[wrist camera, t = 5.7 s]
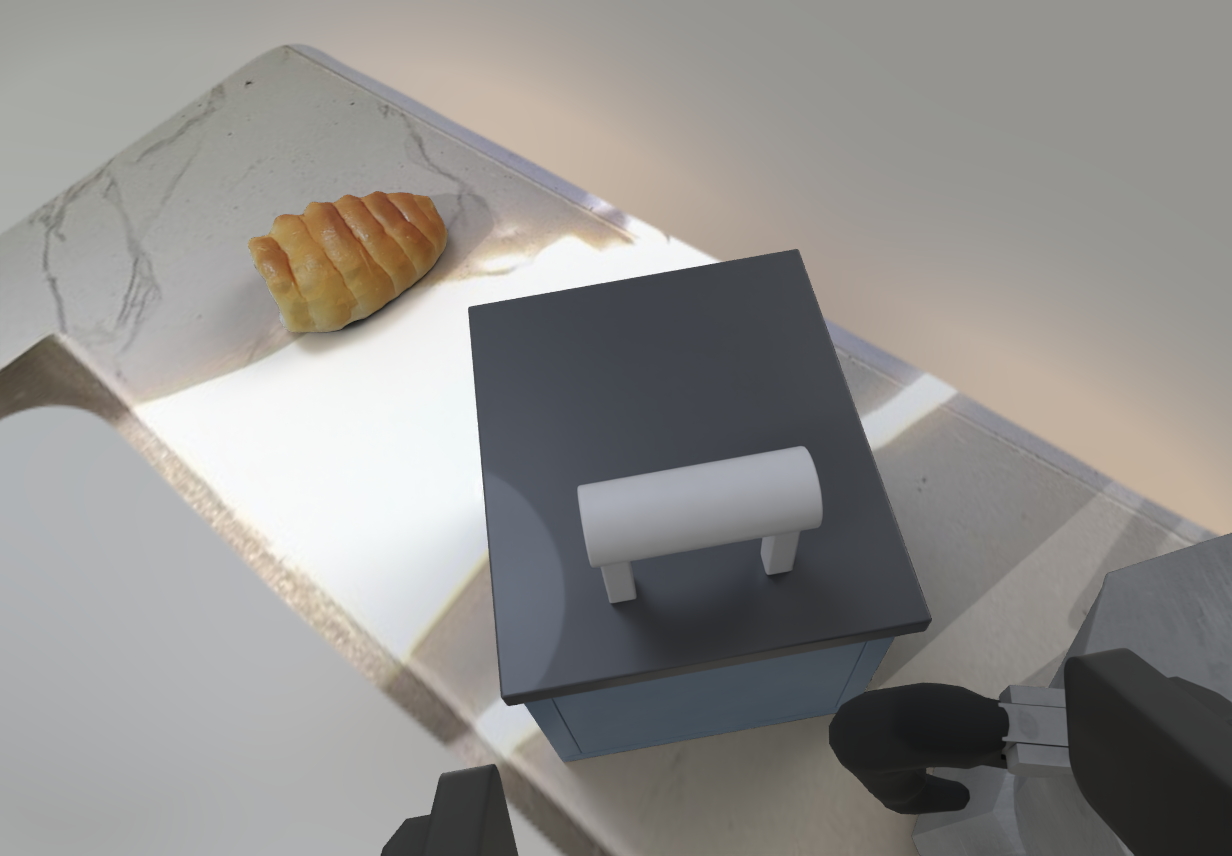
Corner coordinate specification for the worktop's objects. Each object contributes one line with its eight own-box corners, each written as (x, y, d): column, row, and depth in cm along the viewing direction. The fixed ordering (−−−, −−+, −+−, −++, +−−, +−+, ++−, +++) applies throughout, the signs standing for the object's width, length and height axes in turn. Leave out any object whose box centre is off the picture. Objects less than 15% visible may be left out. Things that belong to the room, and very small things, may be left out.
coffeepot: (1240, 722, 30) (1780, 468, 15) (1323, 1056, 26) (2242, 1179, 10) (783, 685, 32) (854, 426, 17) (780, 988, 28) (876, 1008, 12)
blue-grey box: (854, 709, 32) (915, 602, 23) (562, 762, 32) (504, 676, 22) (774, 437, 38) (796, 266, 29) (529, 481, 38) (473, 323, 29)
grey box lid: (926, 631, 22) (986, 537, 17) (507, 707, 22) (452, 633, 17) (796, 264, 29) (814, 123, 24) (473, 321, 29) (426, 191, 24)
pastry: (417, 194, 48) (396, 137, 44) (475, 271, 44) (457, 216, 41) (254, 274, 46) (220, 220, 42) (303, 361, 42) (270, 310, 39)
